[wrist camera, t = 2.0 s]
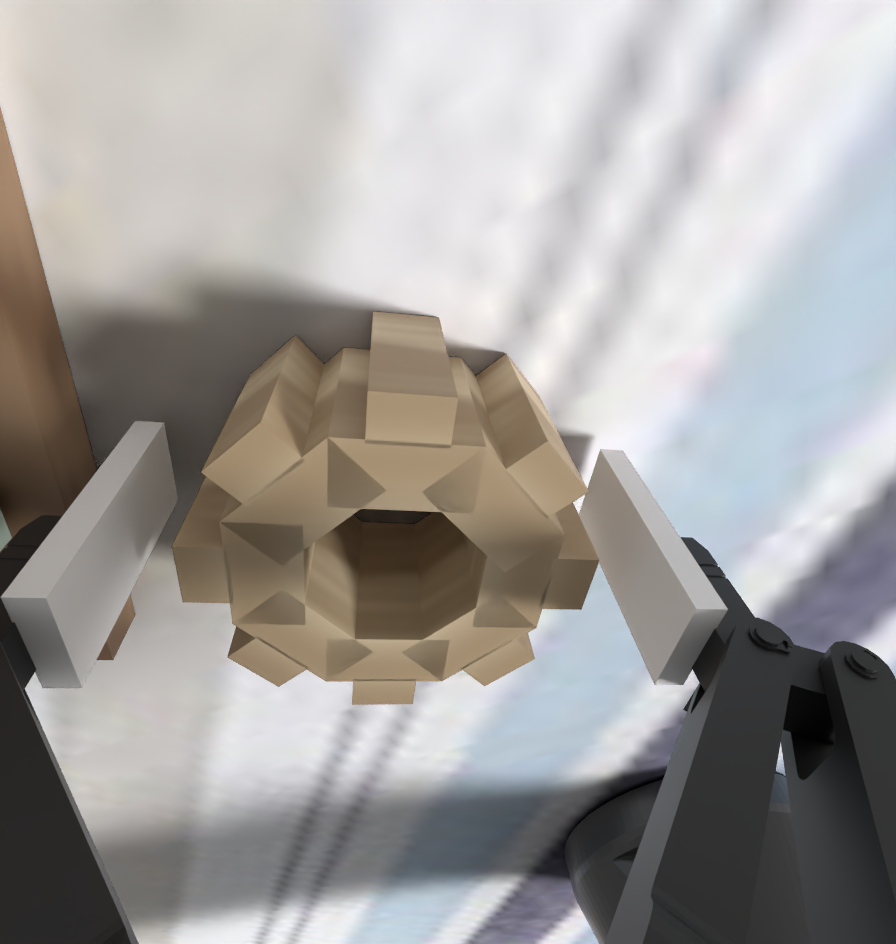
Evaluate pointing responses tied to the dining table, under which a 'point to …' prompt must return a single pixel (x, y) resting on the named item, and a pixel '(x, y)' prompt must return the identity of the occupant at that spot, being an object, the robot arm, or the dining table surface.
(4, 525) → the gear
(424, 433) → the beech gear
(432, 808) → the dining table surface
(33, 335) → the gear board
